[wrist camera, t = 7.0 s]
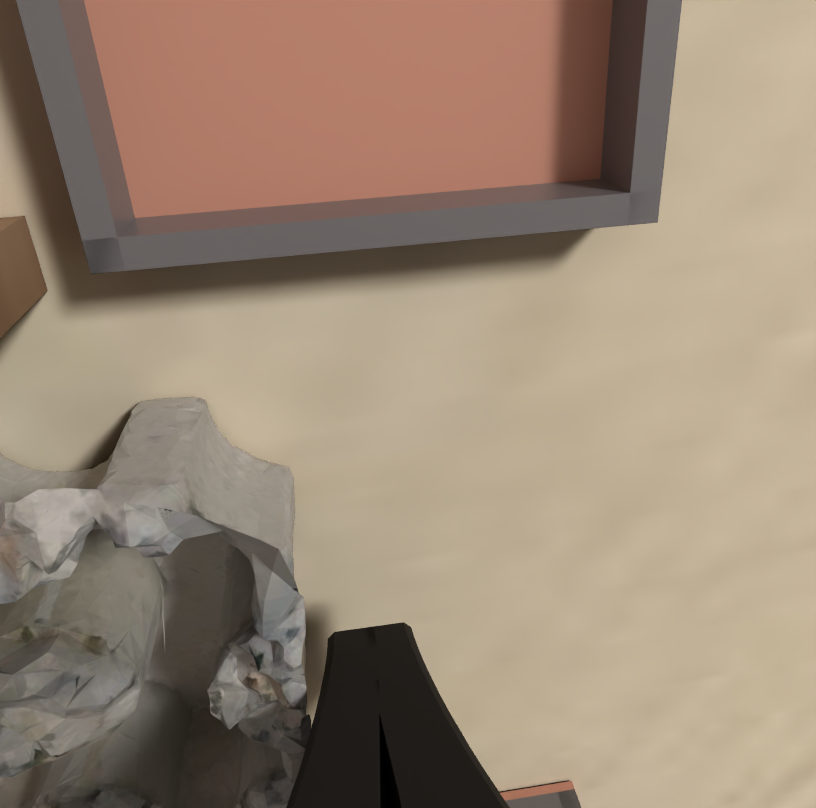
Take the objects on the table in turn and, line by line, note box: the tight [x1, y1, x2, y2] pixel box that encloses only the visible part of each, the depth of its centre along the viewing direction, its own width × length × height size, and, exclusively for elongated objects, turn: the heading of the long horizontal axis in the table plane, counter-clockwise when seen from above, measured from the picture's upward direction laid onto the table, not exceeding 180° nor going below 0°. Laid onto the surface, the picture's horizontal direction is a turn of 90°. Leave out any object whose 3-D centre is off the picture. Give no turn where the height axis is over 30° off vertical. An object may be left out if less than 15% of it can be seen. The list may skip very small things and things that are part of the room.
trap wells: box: [16, 0, 682, 808], centre depth 12 cm, size 24×7×1 cm, turn 3°
